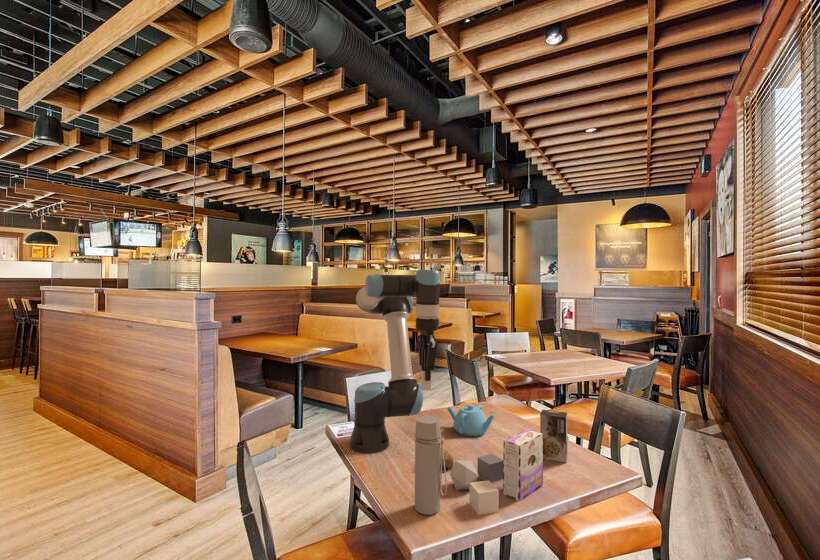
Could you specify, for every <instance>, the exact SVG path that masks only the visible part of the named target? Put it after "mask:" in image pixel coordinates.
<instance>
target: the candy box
mask: <svg viewBox="0 0 820 560" xmlns="http://www.w3.org/2000/svg"><path fill="white" fill-rule="evenodd" d="M502 457H503V459H502V460H503V479H502V484H503V485H502V494H503V495H505V496H507V497H509V498H511V499H513V500H514V501H517V502H520V501H522V500H523V499H525V498H526V497H528V496H529V495H531V494H532V493H533V492H535V491H537V490H538V489H539V488H541V487H542V486H543V485H544V459H543V434H542V433H540V431H539V432H538V431H534V430H532V429H529V428H528V429H524V430H523V431H520V432H519V433H517V434H514V435H512V436H510V437H509V438H506V439H503V456H502Z"/></svg>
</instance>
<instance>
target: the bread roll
mask: <svg viewBox="0 0 820 560" xmlns="http://www.w3.org/2000/svg"><path fill="white" fill-rule="evenodd" d="M441 450H442V447H440V474H441ZM443 451H444V460H445V470H446V472H448V471H451V470H452V468H453V465H454V459H453V456H452V455H451V453H449V452H448V450H446V449H445V448H443ZM443 451H442V474H443V473H445V472H444V462H443Z"/></svg>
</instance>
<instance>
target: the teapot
mask: <svg viewBox="0 0 820 560" xmlns="http://www.w3.org/2000/svg"><path fill="white" fill-rule="evenodd" d="M447 412H448V413H449V414H450V416H451V418H452V419H453V423H452V424H453V425H452V426H453V429H454V431H456V433H457V434H459V435H461V436H466V437H472V436H474V437H481V436H482V435H484V434H485V433H486V432H487V431H488V429H489V428H490V426H491V424H492V422H493V420H494V418H495V416H496V415H495V414H489V416H488V418H486V416H485V414H484V412H483V406H482V405H481V404H478V405H476V406H475V405H474V404H471V403H469V404H467V406H463V407H461V408H460V409H459V410H458V411H457V413H456V411H455V410H454V408H453V406H450V407H448V408H447ZM480 435H481V436H480Z"/></svg>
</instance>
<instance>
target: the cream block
mask: <svg viewBox="0 0 820 560" xmlns="http://www.w3.org/2000/svg"><path fill="white" fill-rule="evenodd" d="M499 492H500V490H499V489H498V488H497V487H496V486H495V485H494V484H493V483H491V482H490V481H489V480H488V481H485V480H482V481H476V482H473V483H470V490H469V505H470V506H471V507H472V509H473V510H474V512H476V514H477V515H478V516H482V515H481V514H483V515H488V514H487V513H489V514H494V512H495V513H499V505H500V504H499V499H500V498H499Z"/></svg>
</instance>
